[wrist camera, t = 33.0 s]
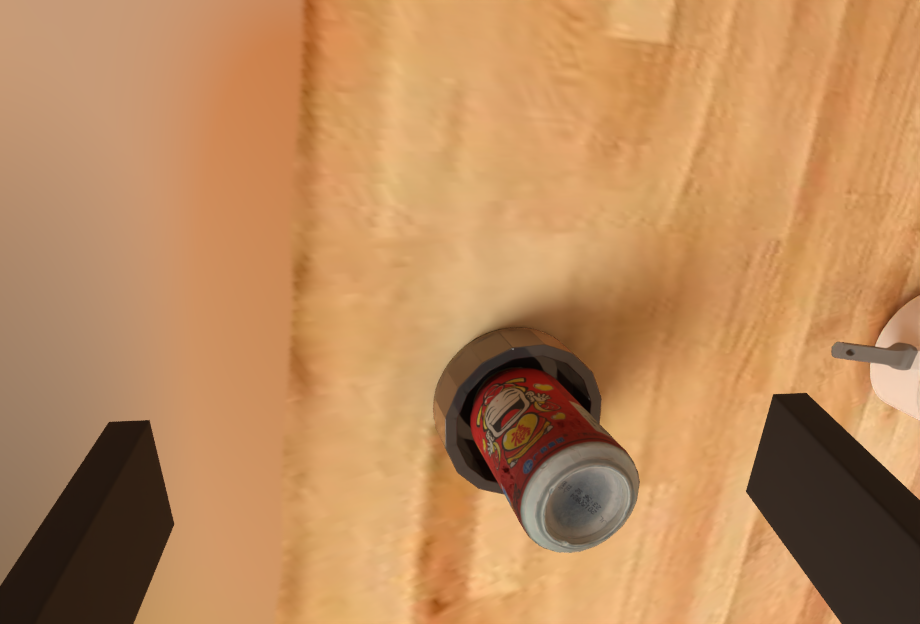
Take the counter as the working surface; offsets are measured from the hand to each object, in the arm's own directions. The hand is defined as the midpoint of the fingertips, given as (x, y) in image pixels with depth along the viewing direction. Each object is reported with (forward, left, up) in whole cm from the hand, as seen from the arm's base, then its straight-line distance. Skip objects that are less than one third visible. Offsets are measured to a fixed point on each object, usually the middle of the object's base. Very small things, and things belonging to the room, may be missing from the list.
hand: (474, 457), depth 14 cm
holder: (+17, -2, -27) cm, 32 cm away
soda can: (+17, -2, -27) cm, 32 cm away
